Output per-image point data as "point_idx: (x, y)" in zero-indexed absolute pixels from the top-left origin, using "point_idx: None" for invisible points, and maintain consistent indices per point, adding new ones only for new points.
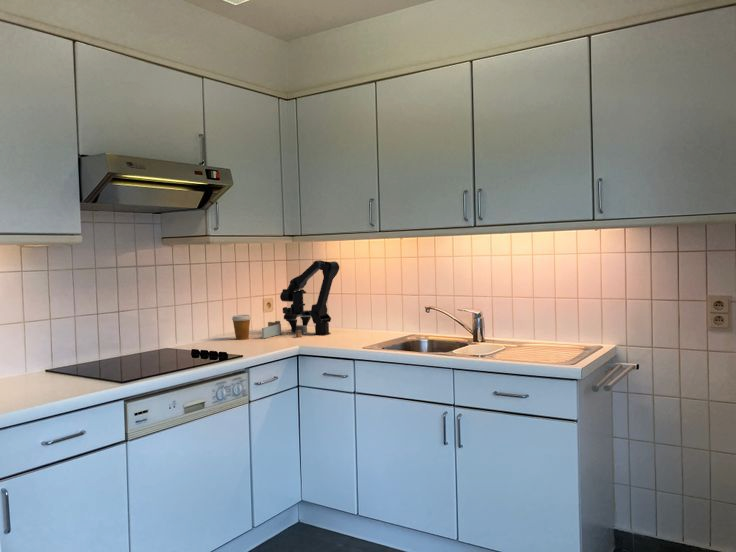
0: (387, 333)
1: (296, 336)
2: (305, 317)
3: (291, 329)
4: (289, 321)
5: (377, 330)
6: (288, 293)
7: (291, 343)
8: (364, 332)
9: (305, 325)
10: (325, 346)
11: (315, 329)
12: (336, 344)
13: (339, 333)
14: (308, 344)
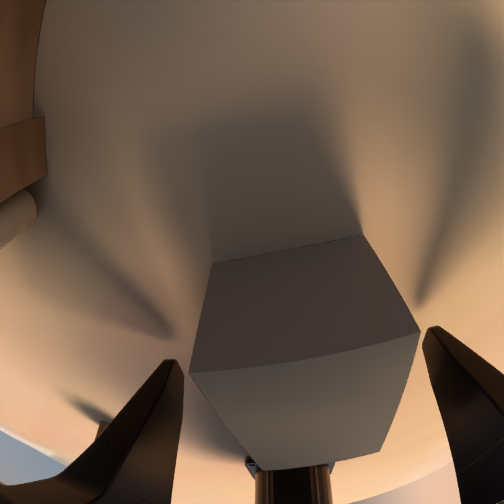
0: (374, 494)
1: (100, 428)
2: (494, 497)
3: (201, 314)
4: (59, 496)
5: (436, 466)
6: None
7: (41, 436)
8: (391, 478)
9: (370, 450)
10: None
11: (271, 487)
12: None
13: (353, 472)
14: None
